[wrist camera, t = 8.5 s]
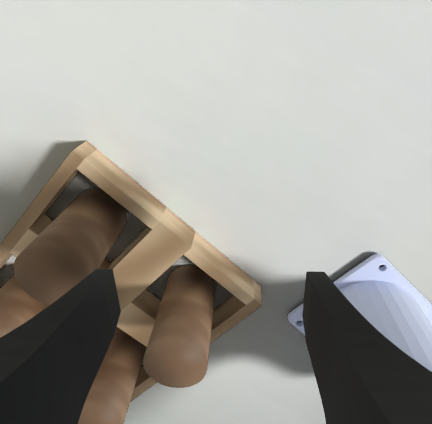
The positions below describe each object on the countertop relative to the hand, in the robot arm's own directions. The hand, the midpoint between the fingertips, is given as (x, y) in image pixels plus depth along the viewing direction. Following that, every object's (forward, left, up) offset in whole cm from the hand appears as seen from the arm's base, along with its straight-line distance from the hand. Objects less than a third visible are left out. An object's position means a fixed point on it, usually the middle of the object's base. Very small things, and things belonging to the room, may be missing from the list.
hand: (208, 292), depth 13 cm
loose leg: (+4, +7, -10) cm, 13 cm away
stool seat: (0, +11, -10) cm, 15 cm away
